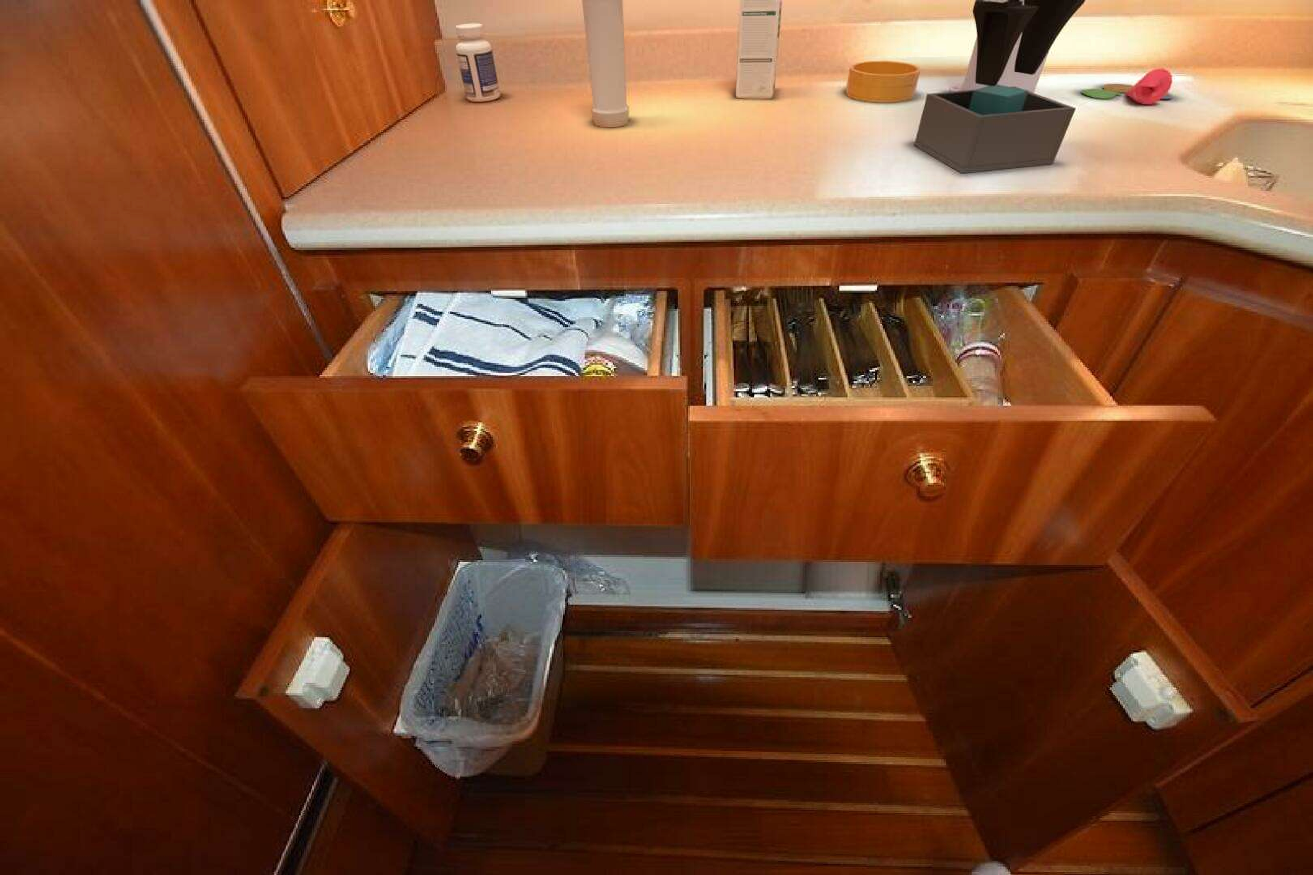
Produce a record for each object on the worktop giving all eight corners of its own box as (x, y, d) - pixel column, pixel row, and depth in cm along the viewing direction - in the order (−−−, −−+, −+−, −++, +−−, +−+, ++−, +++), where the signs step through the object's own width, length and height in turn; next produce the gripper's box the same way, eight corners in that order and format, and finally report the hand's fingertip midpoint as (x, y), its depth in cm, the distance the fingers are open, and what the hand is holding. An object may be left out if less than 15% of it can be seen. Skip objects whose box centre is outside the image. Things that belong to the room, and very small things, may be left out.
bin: (996, 137, 73) (1014, 86, 69) (1053, 163, 65) (1076, 108, 62) (913, 145, 71) (927, 93, 68) (961, 173, 64) (979, 116, 60)
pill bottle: (502, 93, 96) (489, 21, 90) (498, 101, 92) (484, 27, 86) (469, 95, 96) (454, 23, 90) (464, 103, 92) (447, 28, 86)
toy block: (975, 141, 70) (994, 84, 66) (1007, 149, 68) (1028, 90, 64) (956, 148, 68) (973, 89, 64) (988, 156, 66) (1008, 96, 62)
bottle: (615, 129, 79) (598, -126, 62) (585, 124, 82) (560, -123, 65) (636, 120, 83) (625, -125, 66) (607, 115, 85) (588, -123, 68)
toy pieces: (1198, 103, 82) (1217, 66, 79) (1129, 110, 80) (1146, 72, 77) (1129, 83, 90) (1144, 50, 87) (1066, 89, 89) (1079, 55, 86)
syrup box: (772, 99, 89) (784, -22, 79) (733, 98, 90) (740, -21, 80) (774, 90, 93) (786, -26, 83) (737, 89, 94) (744, -25, 84)
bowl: (893, 84, 94) (899, 58, 91) (926, 99, 87) (933, 72, 84) (835, 89, 93) (839, 63, 90) (863, 105, 85) (869, 77, 83)
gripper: (1058, -94, 59) (1007, 62, 69) (976, -88, 53) (932, 83, 62) (1133, -95, 55) (1068, 72, 64) (1054, -89, 49) (994, 95, 58)
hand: (1005, 78), depth 63 cm, fingers open, 7 cm apart
